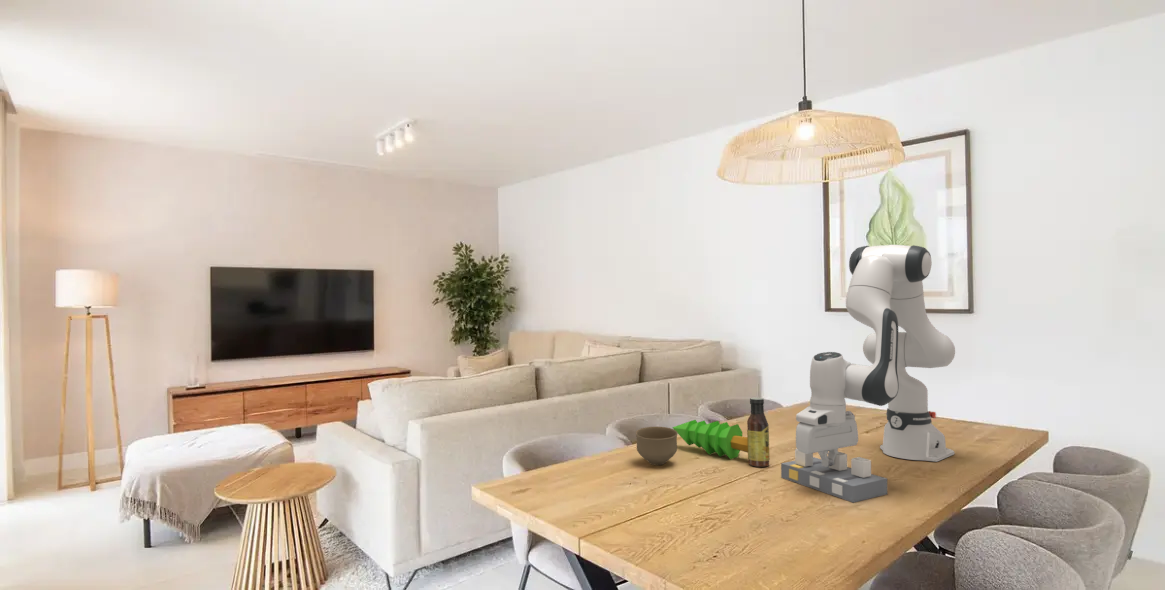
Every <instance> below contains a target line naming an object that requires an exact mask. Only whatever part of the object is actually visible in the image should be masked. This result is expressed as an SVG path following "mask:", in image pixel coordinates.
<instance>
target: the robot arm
mask: <svg viewBox="0 0 1165 590" xmlns="http://www.w3.org/2000/svg"><path fill="white" fill-rule="evenodd" d="M848 261H849V262H848V268H849V271H850V274H851V275H852V276H851V278H850V281H849V285H848V288H847V293H846V298H845V308H846V310H847V312H848V314H849V315H850V316H851V317H852V318H853V319H854V320H855V321H857V322H859V323H861V324H863V325H865V326H866V327H870V328H871V329H873V330H874V331H873V333H870V334H869V335H867V336H866V337H865V339H864V341H863V344H862V350H863V351H862V352H863V355H864V357H865V358H866V360H867V361H869V363H871V364H872V365H864V364H856V363H851V362H850V361H847V360H846V359H845V358H844V357H843V354H841V353H839V352H835V351H827V352H819V353H817V354H815V355H814V356H813V357H812V359H811V363H810V370H809V388H810V391H811V396H810V399H809V405H808V406H807V407H805V408H804V409H803V410H800V412H798V413H796V414H795V415H796V416H795V419H796V422H798V424H797V425H796V428H795V429H796V430H795V449H798V451H799V452H802V453H806V454H811V453H813V454H814V453H818V456H819V457H820V459H822V466H825V467H828V466H833V465H834V464H835V460H834V459H835V458H836V455H837V453H838V452H839V449H843V448H847V447H848V448H849V447H853V446H857V445H858V442H859V432H858V430H859V429H858V426H857V421H856V416H855V414H854V413H853V412H852V411H851V410H847V406H846V405H847V404H846V403H847V401H846V399H848V400H852V401H859V402H864V403H867V404H872V405H875V406H880V407H882V406H883V407H884V406H885V405H887V406H888V407H887V409H886V420H887V423H885V425H884V428H883V430H884V431H883V439H882V444H881V445H880V446H879V449H880V450H882V453H883V454H884V455H887V456H890V457H894V458H898V459H903V460H910V461H927V462H940V461H942V460H944V459H947V458H948V457H951V456H954V455H955V451H954V450H953V449H952V448H951V449H950V448H948V447H947V446H946V437H945V435H944V433H943V432H942V431H940V430H939V429H938V428H937V427H936V426H935V425H934V424H933V423H932V422H933V421H932V419H936V417H937V412H936V411H931V410H929V407H928V406H929V403H928V402H929V401H928V398H929V397H928V395H929V393H928V388H927V386H926V384H924V383H923V382H922V381H921V380H919V379H917V378H915V377H913V376H911V375H910V374H909V373H908V372H907V369H906V368H923V369H924V368H925V369H933V368H934V369H935V368H942V367H943V368H944V367H947V366H949V365H950V364H951V363H952V362H953V361H954V358H955V357H956V347H955V345H954V342H953V340H952V339H951V338H950V337H949V336H947V335H945V334H944V333H942V332H941V331H939V330H938V329H937V327H935V326H934V325H933V323H932V322H931V321H930V319H929V317H928V315H927V310H926V304H925V296H924V284H923V281H924V280H925V279H926V278H928V277H929V276H930V275H929V274H930V273H931V268H932V257H931V253H930V251H929V250H928V249H927V248H926V247H923V246H920V245H919V246H918V245H914V244H913V245H903V244H885V245H884V244H883V245H871V246H870V245H866V246H865V245H863V246H860V247H856V248H855V250H853V252H852V253H851V255H850V256H849V260H848ZM899 328H900V329H903V330H904V331H903V332H902V331H899ZM828 453H829V454H828Z"/></svg>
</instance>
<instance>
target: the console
mask: <svg viewBox="0 0 1165 590" xmlns="http://www.w3.org/2000/svg"><path fill="white" fill-rule="evenodd" d="M780 466H781V468H780V478H782V479H785V480H788V481H790V482H793V483H796V484H798V485H801V486H804V487H808V488H811V489H812V490H816V491H819V492H822V493H824V494H828V495H830V496H833V497H836V498H839V499H842V500H844V501H847V502H851V503H853V504H854V503H857V502H861V501H866V500H871V499H873V498H877V497H882V496H886V495H888V478H887V477H883V476H879V475H876V474H873V473H871V476H869V477H865V478H862V477H859V476H856V475H852V474H851V467H849V466H847V469H846V470H841V471H839V470H835V469H832V468H829V466H828V467H825V466H822V459H821V458H817V457H814V456H813V465H812V466H807V467H805V466H801V465H798V464H795V460H792V461H787V462H782V463H780Z"/></svg>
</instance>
